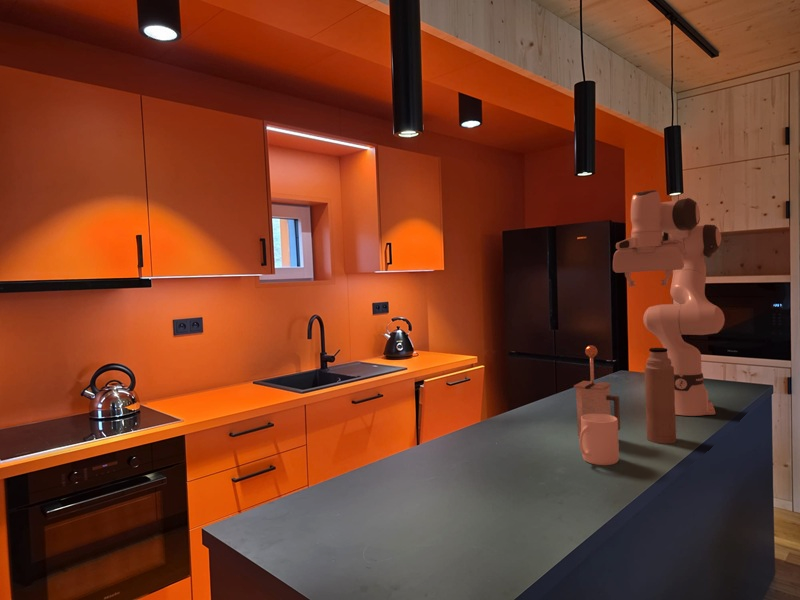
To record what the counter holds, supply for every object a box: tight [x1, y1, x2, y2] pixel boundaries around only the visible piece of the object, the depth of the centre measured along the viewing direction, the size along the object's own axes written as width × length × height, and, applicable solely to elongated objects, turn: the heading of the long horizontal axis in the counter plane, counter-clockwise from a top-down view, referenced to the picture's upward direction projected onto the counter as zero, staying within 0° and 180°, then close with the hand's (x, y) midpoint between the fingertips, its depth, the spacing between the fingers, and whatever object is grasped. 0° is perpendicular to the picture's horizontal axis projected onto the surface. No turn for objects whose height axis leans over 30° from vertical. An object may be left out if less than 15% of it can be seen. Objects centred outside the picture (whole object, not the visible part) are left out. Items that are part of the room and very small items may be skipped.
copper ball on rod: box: [584, 345, 598, 387], centre depth 159 cm, size 7×7×18 cm
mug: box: [579, 414, 620, 466], centre depth 141 cm, size 10×12×12 cm
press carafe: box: [573, 380, 621, 440], centre depth 159 cm, size 9×12×17 cm
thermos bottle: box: [644, 347, 677, 445], centre depth 156 cm, size 8×8×28 cm
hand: (648, 285), depth 162 cm, fingers open, 8 cm apart
